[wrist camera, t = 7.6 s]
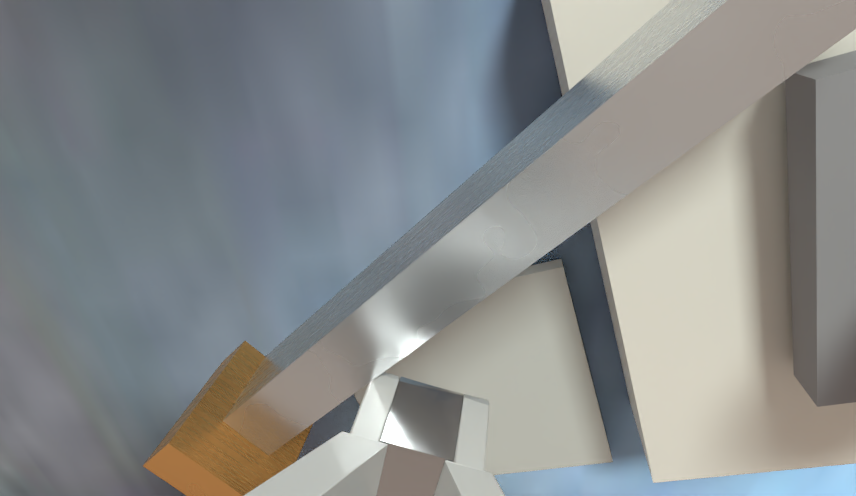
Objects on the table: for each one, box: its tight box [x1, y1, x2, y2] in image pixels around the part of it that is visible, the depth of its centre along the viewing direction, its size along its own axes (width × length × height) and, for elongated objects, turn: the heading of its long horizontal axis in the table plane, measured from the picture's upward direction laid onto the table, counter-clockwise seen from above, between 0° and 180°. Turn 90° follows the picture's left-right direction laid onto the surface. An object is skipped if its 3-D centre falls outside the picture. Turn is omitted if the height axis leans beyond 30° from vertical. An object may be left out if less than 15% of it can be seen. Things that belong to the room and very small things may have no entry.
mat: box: [354, 259, 613, 475], centre depth 17 cm, size 8×8×1 cm
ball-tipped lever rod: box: [143, 0, 856, 496], centre depth 8 cm, size 16×2×4 cm, turn 135°
